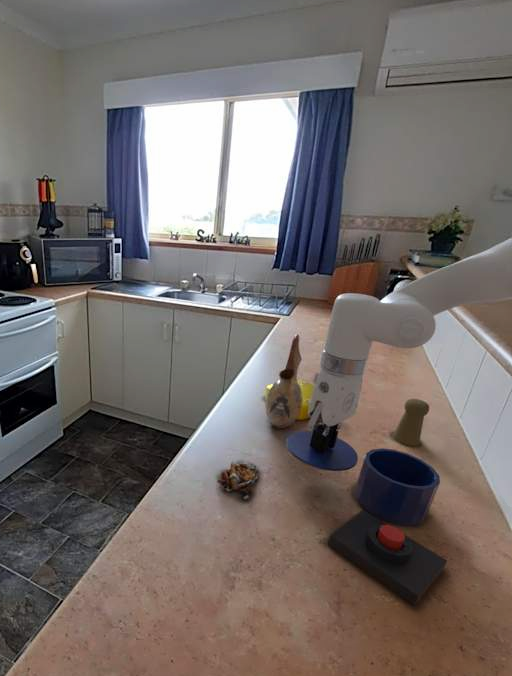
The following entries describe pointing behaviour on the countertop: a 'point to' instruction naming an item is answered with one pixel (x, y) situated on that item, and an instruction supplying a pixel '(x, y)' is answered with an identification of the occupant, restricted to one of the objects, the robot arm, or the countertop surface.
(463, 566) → the countertop surface
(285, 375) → the ceramic vessel
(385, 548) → the block
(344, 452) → the blue round disc
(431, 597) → the countertop surface
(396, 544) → the release button
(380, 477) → the tin
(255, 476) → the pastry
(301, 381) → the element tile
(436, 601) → the countertop surface
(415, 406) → the brown pawn
